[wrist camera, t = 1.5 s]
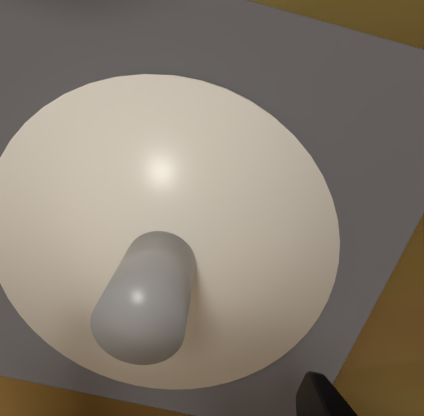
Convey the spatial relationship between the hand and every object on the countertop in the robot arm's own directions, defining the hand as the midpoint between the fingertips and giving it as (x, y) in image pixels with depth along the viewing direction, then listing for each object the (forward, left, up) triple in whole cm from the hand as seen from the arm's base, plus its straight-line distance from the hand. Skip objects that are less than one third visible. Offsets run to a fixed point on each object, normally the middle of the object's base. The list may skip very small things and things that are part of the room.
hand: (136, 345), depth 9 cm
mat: (0, 0, -6) cm, 6 cm away
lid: (0, 0, -5) cm, 5 cm away
